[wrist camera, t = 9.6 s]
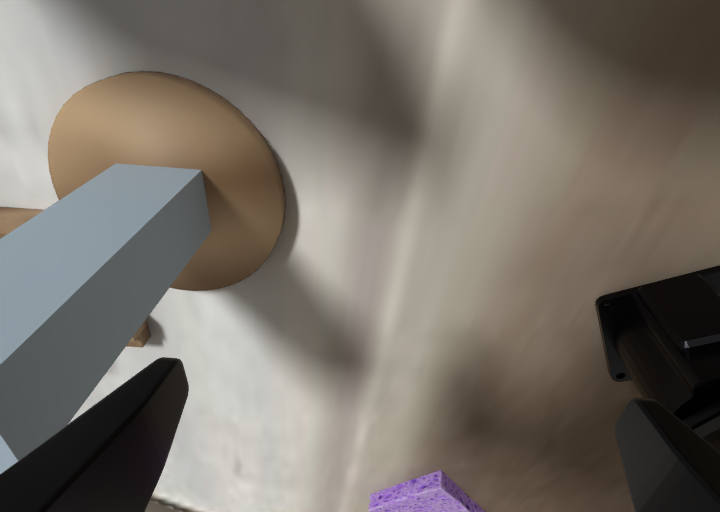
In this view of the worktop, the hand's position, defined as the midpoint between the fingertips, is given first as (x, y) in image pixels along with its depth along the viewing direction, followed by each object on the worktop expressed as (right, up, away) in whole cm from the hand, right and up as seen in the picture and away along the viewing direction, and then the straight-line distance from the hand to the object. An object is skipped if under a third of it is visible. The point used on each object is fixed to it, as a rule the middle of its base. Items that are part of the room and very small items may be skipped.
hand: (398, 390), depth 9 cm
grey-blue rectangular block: (-10, +6, +12) cm, 16 cm away
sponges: (+6, -19, +28) cm, 35 cm away
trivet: (-10, +6, +13) cm, 17 cm away
